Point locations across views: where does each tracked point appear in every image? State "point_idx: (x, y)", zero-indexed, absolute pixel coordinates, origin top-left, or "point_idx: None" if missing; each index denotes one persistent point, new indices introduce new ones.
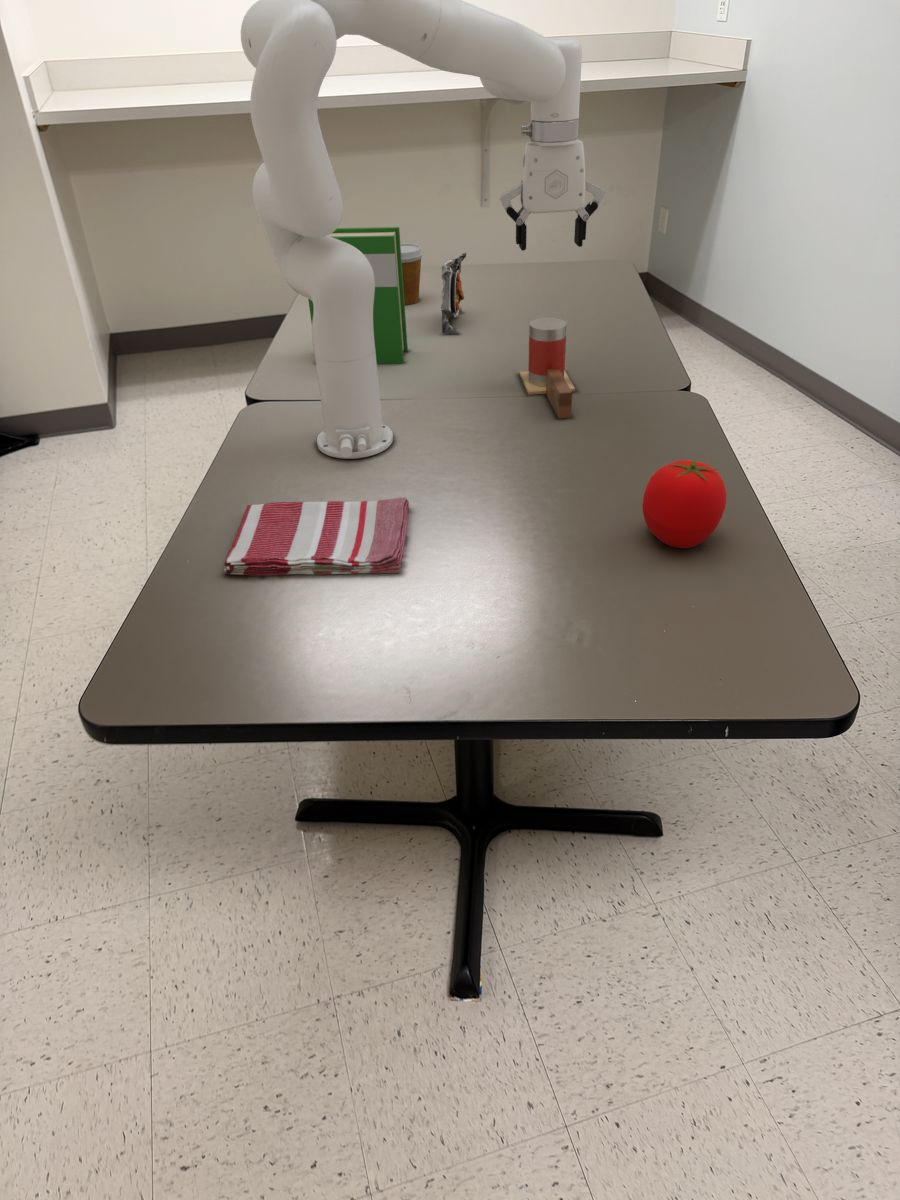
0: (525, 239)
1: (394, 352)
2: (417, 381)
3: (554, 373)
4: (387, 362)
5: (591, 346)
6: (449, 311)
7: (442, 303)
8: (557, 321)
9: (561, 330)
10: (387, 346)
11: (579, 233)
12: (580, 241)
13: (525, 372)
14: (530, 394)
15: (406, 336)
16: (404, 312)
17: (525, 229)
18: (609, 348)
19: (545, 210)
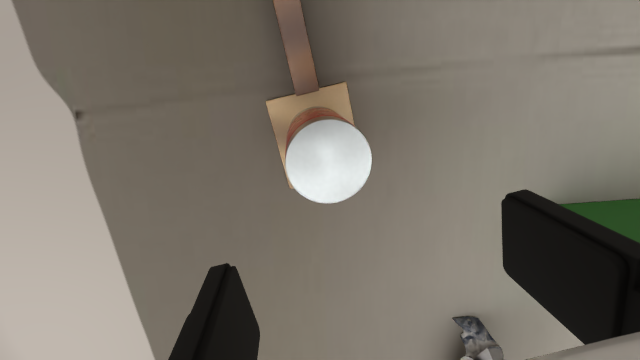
0: (547, 216)
1: None
2: (524, 134)
3: (303, 67)
4: (565, 204)
5: (250, 289)
6: (481, 352)
7: (503, 357)
8: (307, 178)
9: (295, 134)
10: (586, 215)
11: (215, 310)
12: (216, 276)
13: None
14: (342, 82)
15: None
16: None
17: (603, 247)
18: None
19: (620, 352)
